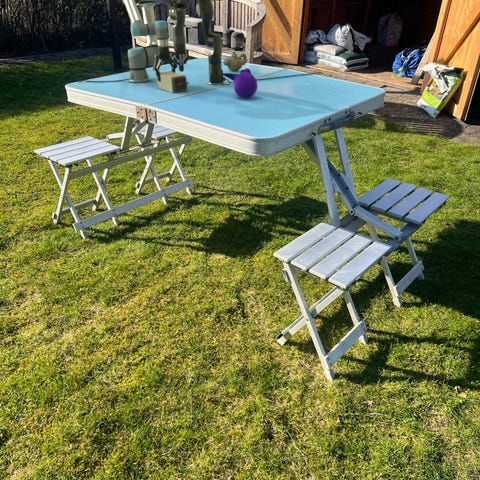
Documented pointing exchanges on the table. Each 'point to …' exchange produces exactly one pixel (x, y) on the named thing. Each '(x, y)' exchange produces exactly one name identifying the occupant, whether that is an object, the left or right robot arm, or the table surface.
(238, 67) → the teapot
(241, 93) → the toy
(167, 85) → the tan cardboard carton
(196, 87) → the table surface
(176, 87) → the drawer
